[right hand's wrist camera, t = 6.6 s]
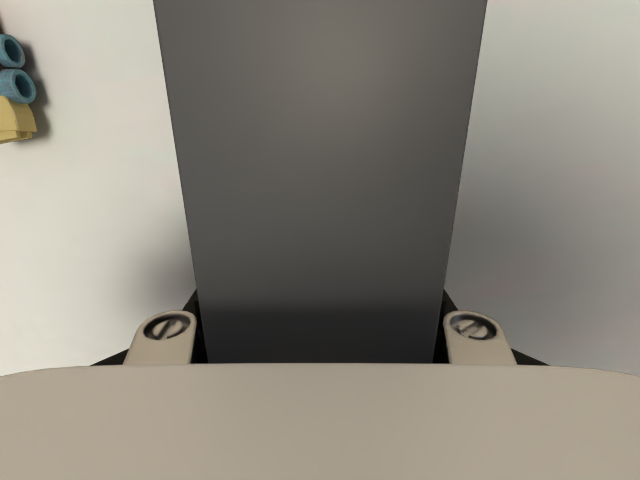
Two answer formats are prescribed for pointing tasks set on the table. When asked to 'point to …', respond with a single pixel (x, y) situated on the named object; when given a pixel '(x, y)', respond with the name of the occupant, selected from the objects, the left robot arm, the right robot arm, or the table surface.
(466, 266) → the table surface
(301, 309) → the beam
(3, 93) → the toy gun
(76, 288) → the table surface
